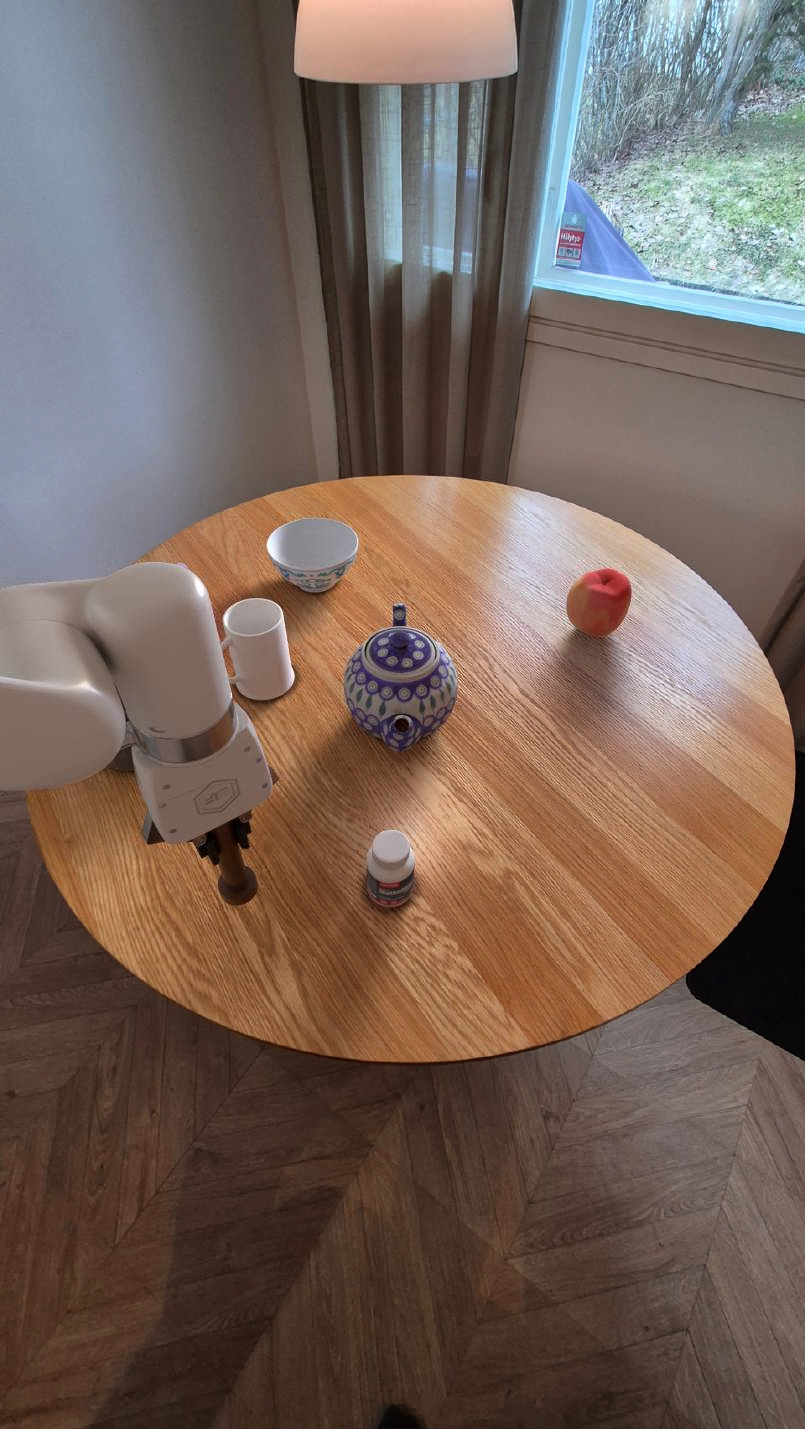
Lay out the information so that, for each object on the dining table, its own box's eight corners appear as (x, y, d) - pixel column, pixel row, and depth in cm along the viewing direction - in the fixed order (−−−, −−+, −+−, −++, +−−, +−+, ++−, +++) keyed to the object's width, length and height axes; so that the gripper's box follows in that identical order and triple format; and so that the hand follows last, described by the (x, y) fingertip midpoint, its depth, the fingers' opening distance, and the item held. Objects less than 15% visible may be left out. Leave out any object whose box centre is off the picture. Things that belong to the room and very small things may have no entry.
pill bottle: (376, 914, 73) (375, 875, 67) (360, 875, 76) (357, 833, 70) (420, 898, 74) (423, 858, 68) (403, 860, 78) (404, 818, 71)
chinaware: (294, 549, 120) (289, 511, 115) (372, 564, 117) (371, 526, 112) (257, 597, 111) (250, 558, 105) (340, 616, 108) (337, 577, 102)
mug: (235, 720, 92) (218, 657, 83) (205, 686, 97) (186, 623, 88) (305, 682, 97) (297, 619, 88) (274, 652, 102) (263, 589, 93)
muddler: (229, 912, 68) (203, 839, 58) (213, 883, 70) (185, 808, 60) (264, 893, 70) (245, 818, 60) (247, 865, 72) (226, 788, 62)
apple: (592, 603, 111) (606, 552, 103) (634, 635, 105) (652, 584, 98) (548, 623, 107) (560, 572, 100) (590, 657, 102) (605, 606, 94)
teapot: (353, 653, 102) (348, 573, 91) (452, 656, 102) (460, 575, 90) (337, 786, 85) (329, 706, 74) (457, 790, 85) (466, 710, 74)
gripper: (95, 799, 45) (159, 920, 59) (302, 705, 52) (317, 834, 65) (63, 730, 49) (130, 858, 63) (258, 651, 56) (281, 783, 69)
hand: (225, 845), depth 64 cm, fingers closed on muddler, 2 cm apart
